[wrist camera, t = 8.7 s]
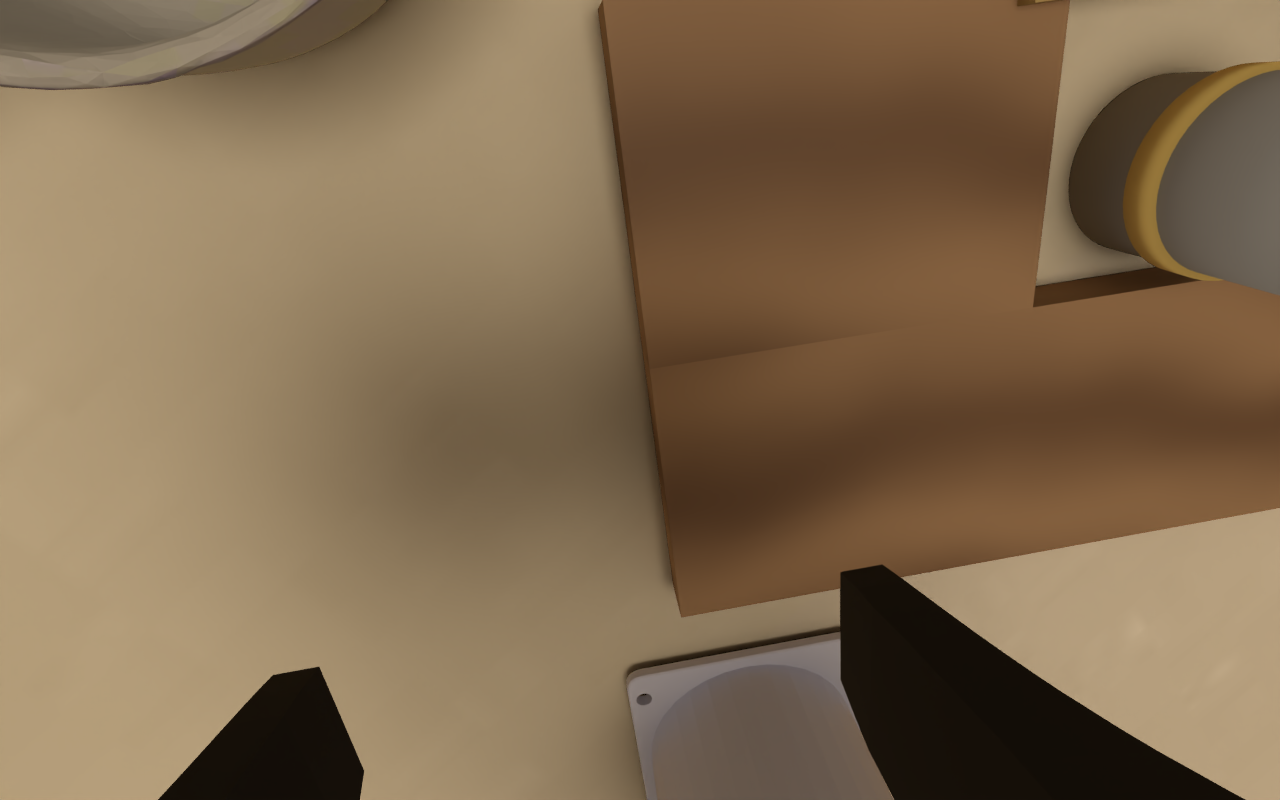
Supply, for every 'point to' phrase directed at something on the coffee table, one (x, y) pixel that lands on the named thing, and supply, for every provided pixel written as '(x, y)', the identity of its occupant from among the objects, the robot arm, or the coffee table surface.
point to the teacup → (159, 38)
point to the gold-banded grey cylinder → (1188, 175)
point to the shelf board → (900, 304)
